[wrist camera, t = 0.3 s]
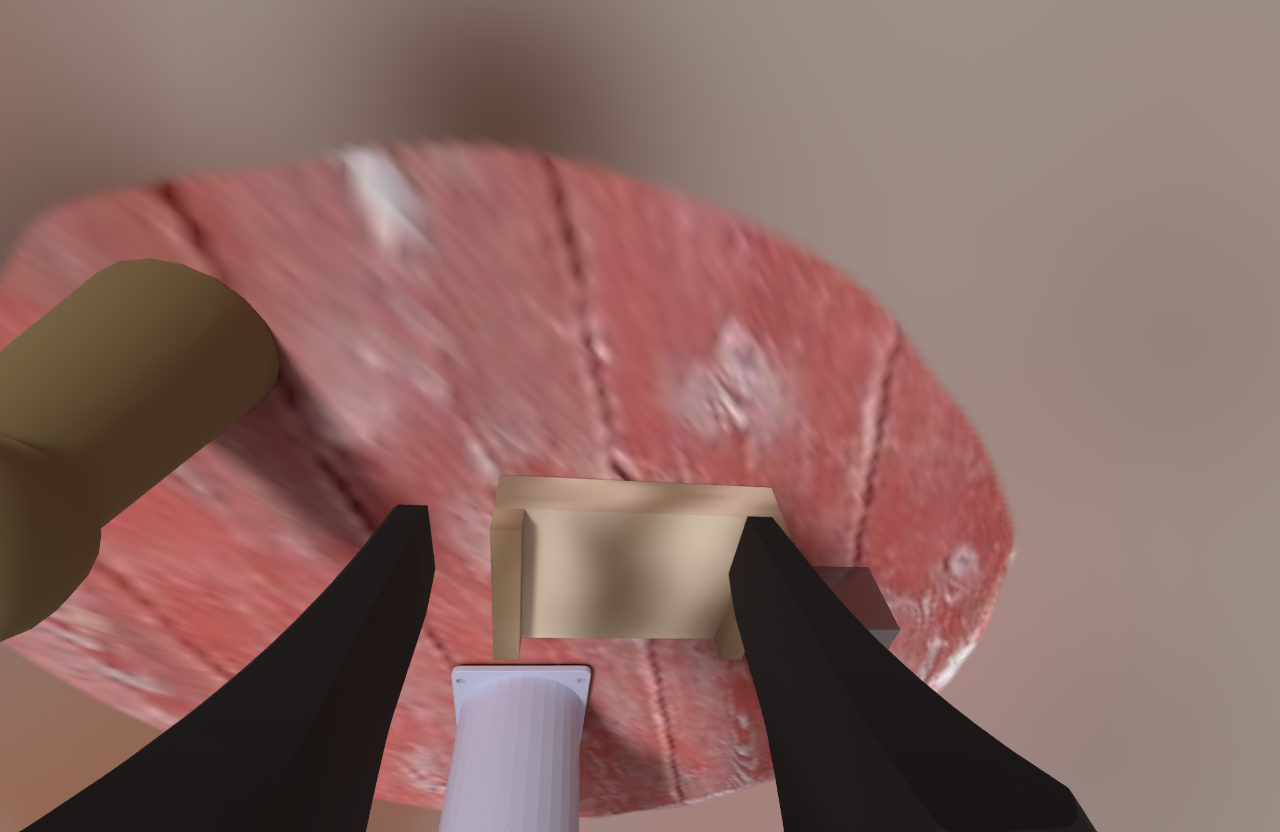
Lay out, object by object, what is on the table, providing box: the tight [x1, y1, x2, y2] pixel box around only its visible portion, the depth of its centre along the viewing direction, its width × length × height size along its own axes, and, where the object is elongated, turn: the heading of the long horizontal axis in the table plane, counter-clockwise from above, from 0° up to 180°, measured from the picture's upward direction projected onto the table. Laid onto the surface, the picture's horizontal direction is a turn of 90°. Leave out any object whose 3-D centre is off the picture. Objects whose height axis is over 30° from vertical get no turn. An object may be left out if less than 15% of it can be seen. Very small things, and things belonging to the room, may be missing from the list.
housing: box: [812, 566, 900, 649], centre depth 30 cm, size 8×5×4 cm, turn 173°
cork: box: [0, 259, 280, 642], centre depth 15 cm, size 6×6×11 cm
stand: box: [490, 475, 792, 660], centre depth 26 cm, size 12×9×3 cm
